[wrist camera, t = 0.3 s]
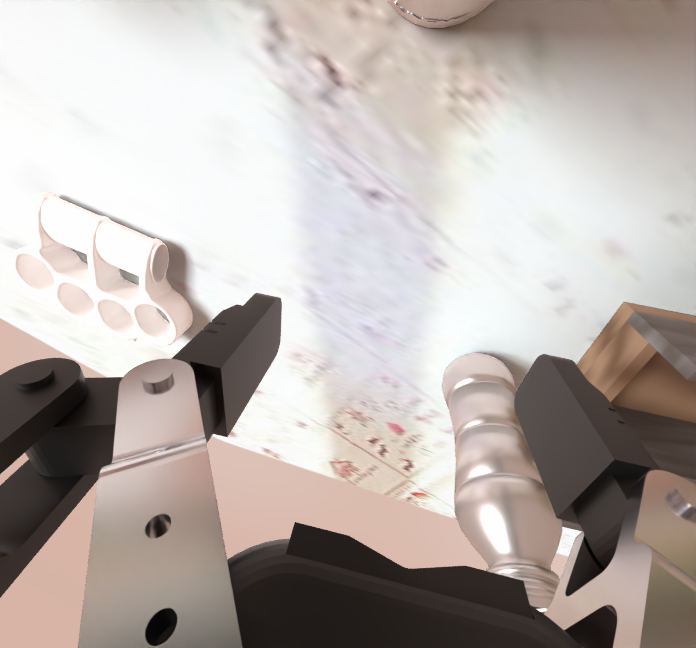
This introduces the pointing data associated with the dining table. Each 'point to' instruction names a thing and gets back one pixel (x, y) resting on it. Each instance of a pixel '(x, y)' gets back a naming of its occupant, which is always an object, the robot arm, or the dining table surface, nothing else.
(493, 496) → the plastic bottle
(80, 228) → the white flat holed piece
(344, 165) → the dining table surface
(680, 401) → the wooden shelf rack
